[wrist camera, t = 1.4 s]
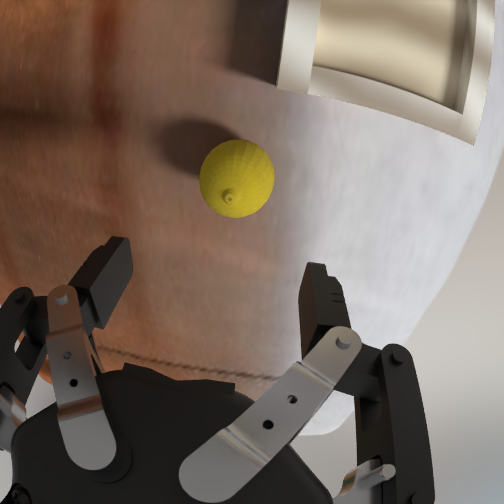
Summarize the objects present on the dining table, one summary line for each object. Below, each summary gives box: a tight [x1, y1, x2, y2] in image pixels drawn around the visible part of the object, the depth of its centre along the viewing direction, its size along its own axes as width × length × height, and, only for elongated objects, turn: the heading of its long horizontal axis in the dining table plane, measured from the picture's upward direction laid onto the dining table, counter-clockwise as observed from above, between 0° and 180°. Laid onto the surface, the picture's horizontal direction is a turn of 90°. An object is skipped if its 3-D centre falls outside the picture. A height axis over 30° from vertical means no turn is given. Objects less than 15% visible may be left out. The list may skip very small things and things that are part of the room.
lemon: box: [199, 139, 274, 218], centre depth 21 cm, size 6×6×8 cm
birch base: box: [276, 0, 495, 146], centre depth 14 cm, size 16×16×6 cm
